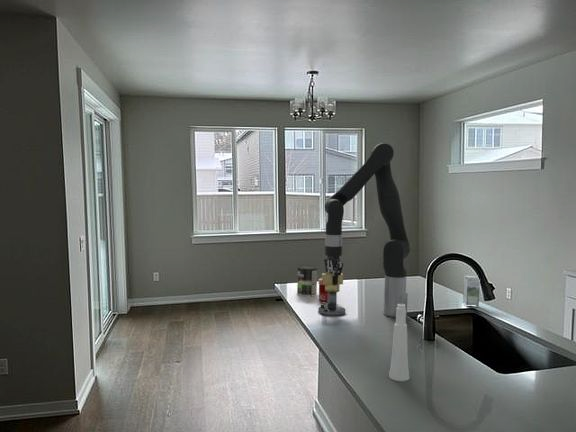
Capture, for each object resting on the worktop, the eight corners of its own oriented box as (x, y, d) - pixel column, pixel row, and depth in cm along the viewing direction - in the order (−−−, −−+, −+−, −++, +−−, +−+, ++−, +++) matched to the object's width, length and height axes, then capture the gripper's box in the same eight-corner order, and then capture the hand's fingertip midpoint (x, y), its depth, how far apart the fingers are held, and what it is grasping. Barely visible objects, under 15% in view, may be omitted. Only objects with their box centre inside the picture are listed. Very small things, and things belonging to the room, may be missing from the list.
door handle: (340, 288, 209) (340, 272, 208) (343, 292, 203) (344, 275, 202) (317, 289, 208) (317, 272, 207) (320, 292, 201) (320, 275, 201)
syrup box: (475, 304, 223) (476, 274, 222) (478, 307, 217) (480, 277, 216) (462, 303, 223) (464, 274, 222) (466, 307, 218) (467, 276, 216)
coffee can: (302, 297, 233) (303, 269, 232) (293, 292, 242) (294, 265, 241) (320, 295, 237) (321, 267, 236) (311, 290, 246) (311, 264, 245)
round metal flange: (350, 311, 207) (350, 290, 206) (336, 317, 198) (336, 296, 197) (327, 307, 214) (328, 286, 214) (313, 312, 205) (313, 291, 204)
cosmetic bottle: (394, 371, 142) (396, 300, 141) (412, 376, 139) (415, 304, 137) (384, 377, 138) (387, 304, 136) (403, 383, 134) (406, 308, 132)
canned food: (335, 303, 221) (336, 280, 220) (319, 303, 221) (319, 280, 221) (334, 299, 229) (335, 277, 228) (318, 299, 229) (318, 277, 228)
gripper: (349, 246, 199) (348, 286, 200) (333, 242, 212) (332, 279, 213) (333, 247, 196) (333, 287, 197) (318, 243, 209) (318, 280, 210)
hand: (333, 283), depth 205 cm, fingers closed on door handle, 3 cm apart
